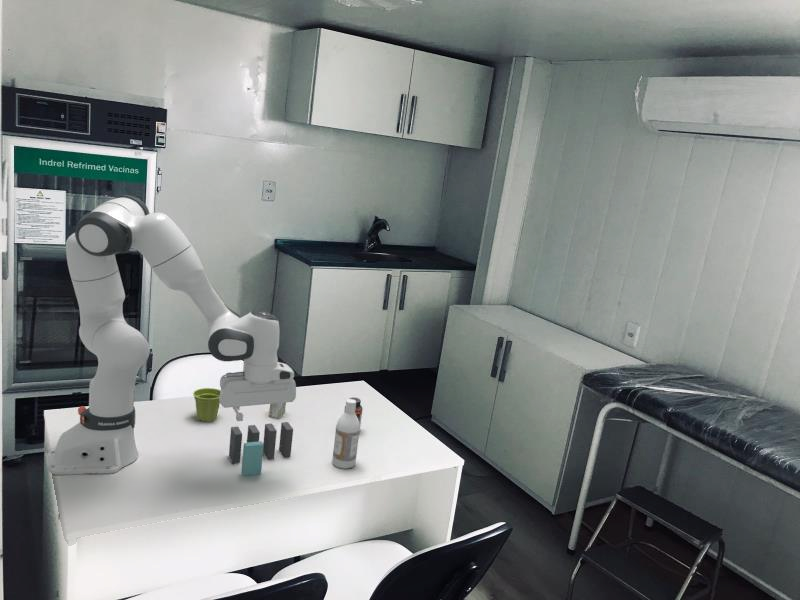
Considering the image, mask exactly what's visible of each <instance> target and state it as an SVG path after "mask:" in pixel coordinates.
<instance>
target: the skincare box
mask: <svg viewBox="0 0 800 600" xmlns="http://www.w3.org/2000/svg"><path fill="white" fill-rule="evenodd" d="M286 404H287V402H286V403H282V407H281V409H280V410H279V411H278V415H277V417H276V418H275V419H279V420H282V418H283V417H284V415H285V412H286ZM275 406H276V404H275V403H274V404H269V413H268V418H271V416H270V414H271V410H274V408H275Z"/></svg>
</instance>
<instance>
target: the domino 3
mask: <svg viewBox="0 0 800 600" xmlns="http://www.w3.org/2000/svg"><path fill="white" fill-rule="evenodd" d="M263 442H264V441H262V440H261V441H260V440H259V442H249V443H247V442H243V448H242V449H243V450H242V461H241V475H242V477H249V476H257V475H262V469H263V468H262V467H263V459H264V457H263V455H264V453H263V447H264V444H263Z"/></svg>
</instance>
